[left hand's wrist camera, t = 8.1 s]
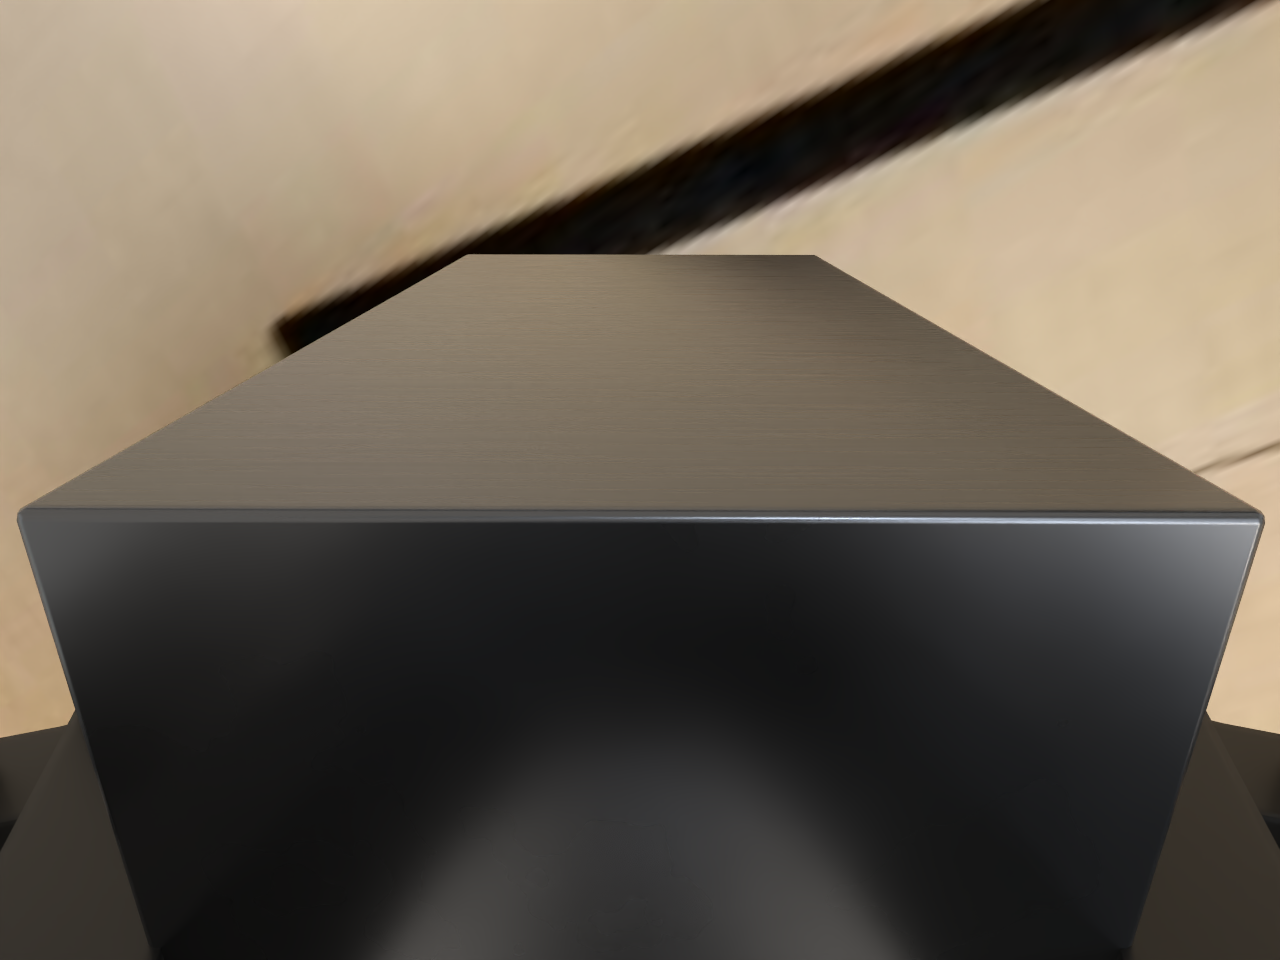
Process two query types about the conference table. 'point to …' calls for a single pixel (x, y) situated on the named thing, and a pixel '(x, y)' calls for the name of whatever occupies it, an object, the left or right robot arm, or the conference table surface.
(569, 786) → the box
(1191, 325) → the conference table surface
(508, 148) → the conference table surface
